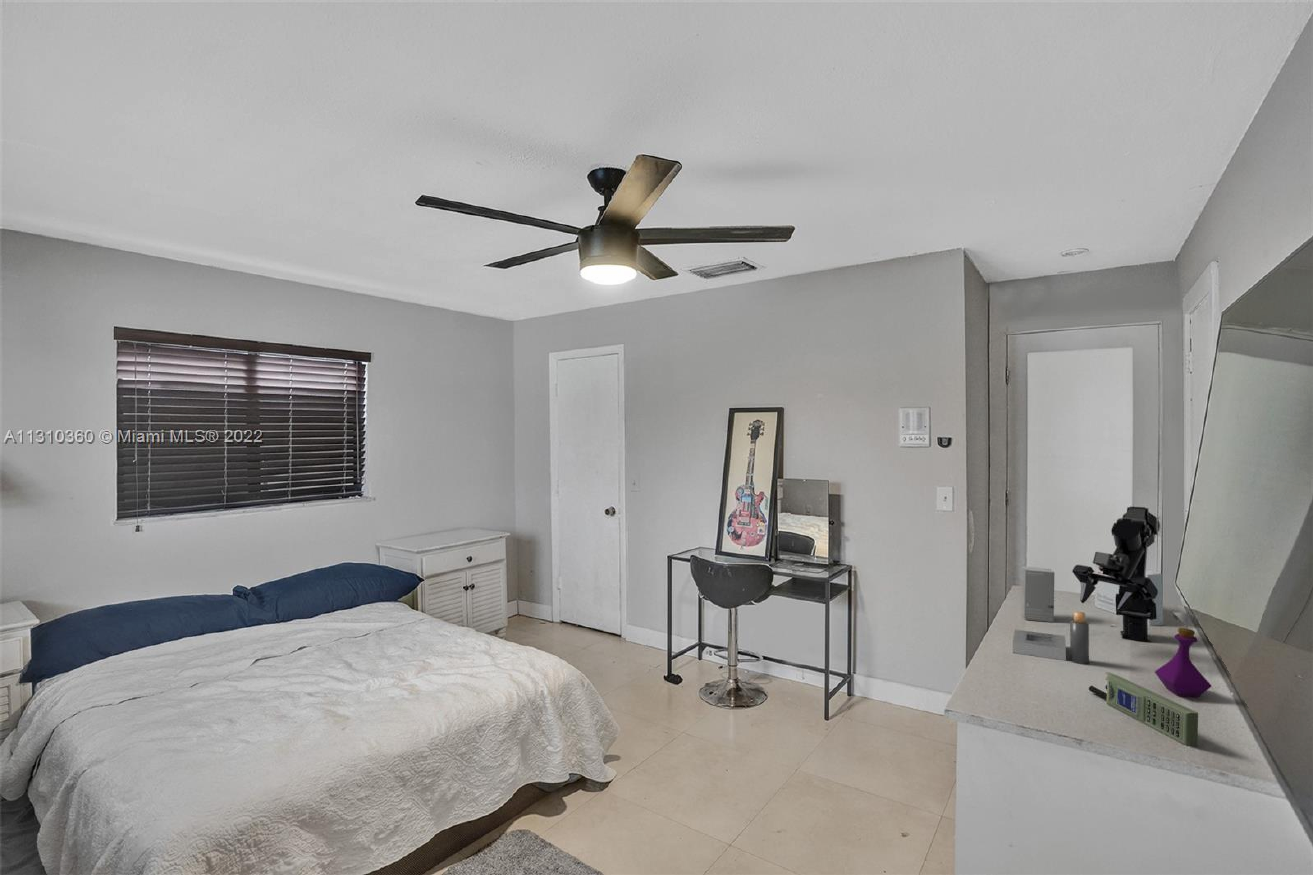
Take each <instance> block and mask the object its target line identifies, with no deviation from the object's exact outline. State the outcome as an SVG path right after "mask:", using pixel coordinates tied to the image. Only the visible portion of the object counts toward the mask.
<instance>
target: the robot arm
mask: <svg viewBox="0 0 1313 875" xmlns="http://www.w3.org/2000/svg"><path fill="white" fill-rule="evenodd" d="M1110 532H1111V536H1112V537H1113V541H1114V545H1115V547H1116V548H1115V550H1114V552H1113V553H1107V552H1101V551H1095V553H1094V557H1093V560H1092V564H1093V565H1094V564H1097V565H1099V570H1100V571H1102V572H1103V574H1099V573H1095V571H1094V568H1092V566H1088V565H1082V564H1076V565H1074V567H1073V569H1072V570H1071V572H1072V573H1073V574H1074V576H1075V578H1077V580H1078V582H1079V583H1080V598H1079V600H1080V602H1081V604H1084V603H1086V602H1087V601H1088V600H1089V598H1090V596H1091V595H1092V594H1093V593H1094V592H1095V588H1096V587H1095V585H1097V583H1098V581H1102V582H1107V583H1111V584H1115V585H1120V587H1119V594H1116V600H1115V601H1116V614H1115V615H1116V616H1120V615H1123V616H1122V630H1120V636H1121V638H1122V639H1123V640H1124V639H1125V640H1134V641H1140V642H1141V641H1143V642H1148V643H1149V642H1150V643H1151V642H1152V641H1151V637H1150V634H1149V632H1148V630H1149V629H1148V628H1149V626H1148V619H1150V620H1153V619H1157V612H1156V604H1155V603H1154V601H1153V599H1155V598H1156V596H1157V594H1158V590H1157V588H1156V587H1155V585H1154V584H1153V582H1152V581H1151V580H1150V578H1147V577H1145V574H1146V570H1147V559H1148V548H1149V547H1150V546H1151V545H1153V544H1154V543H1155V539H1156V536H1158V534H1159V533H1158V532H1159V522H1158V517H1156V516H1155V515H1154V514H1152V513H1150V511H1149V507H1147V508H1146V507H1144V506H1127V508H1126V512H1125V513H1124V514H1122V517H1120V518H1119V517H1118V519H1117V520H1116V522H1114V523H1113V525H1112V528H1111V530H1110ZM1149 613H1150V614H1149Z"/></svg>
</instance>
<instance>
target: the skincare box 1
mask: <svg viewBox="0 0 1313 875" xmlns="http://www.w3.org/2000/svg"><path fill="white" fill-rule="evenodd" d="M1021 570H1022V571H1021V576H1022V577H1021V615H1022V617H1023V618H1024V620H1025V621H1036V622H1049V623H1054V620H1055V571H1053V570H1052V569H1051V568H1044V567H1043V568H1042V567H1036V566H1035V567H1032V566H1021Z"/></svg>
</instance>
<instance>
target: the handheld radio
mask: <svg viewBox="0 0 1313 875" xmlns="http://www.w3.org/2000/svg"><path fill="white" fill-rule="evenodd" d="M1105 674H1106V675H1107V676H1106V677H1105V680H1106V685H1105V688H1104V689H1105V690H1106V692H1105V691H1103V690H1101V689H1100V688H1098V687H1095V686H1094V685H1089V687H1088V690H1089V692H1091V693H1093V694H1095V695H1097V696H1099V697H1100V698H1102V699H1105V700H1106V704H1107V705H1108V706H1110V707H1112V708H1113V709H1116V710H1118V711H1120V712H1121V713H1123V714H1125V715H1126V716H1128V717H1131V718H1132V719H1135V720H1136V719H1137V720H1136V721H1138V720H1139V722H1140V721H1141V723H1142V724H1144V723H1145V724H1144V725H1146V724H1147V725H1146V726H1147V727H1149V728H1151V727H1152V728H1151V729H1153V728H1154V729H1153V730H1155V729H1156V730H1155V731H1157V730H1158V731H1157V732H1159V733H1161V732H1162V733H1161V734H1163V733H1164V734H1163V735H1165V734H1166V735H1165V736H1166V737H1168V736H1169V737H1168V738H1170V737H1172V738H1173V739H1172V738H1171V739H1172V740H1174V739H1175V740H1174V741H1176V742H1178V743H1180V742H1181V743H1180V744H1182V745H1183V746H1185V745H1186V747H1188V746H1193V747H1197V746H1198V742H1199V741H1198V738H1199V737H1198V734H1199V712H1198V711H1195V710H1194V709H1191V708H1189V707H1187V706H1185V705H1183V704H1181V703H1178V702H1176V701H1174V700H1172V699H1169V698H1167V697H1165V696H1163V695H1162V694H1161V695H1160V694H1159V693H1157V692H1155V691H1152V690H1150V689H1148V688H1146V687H1144V686H1141V685H1139V684H1137V683H1135V682H1133V681H1131V680H1128V679H1126V678H1124V677H1122V676H1120V675H1117V674H1114V673H1112V672H1105Z"/></svg>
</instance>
